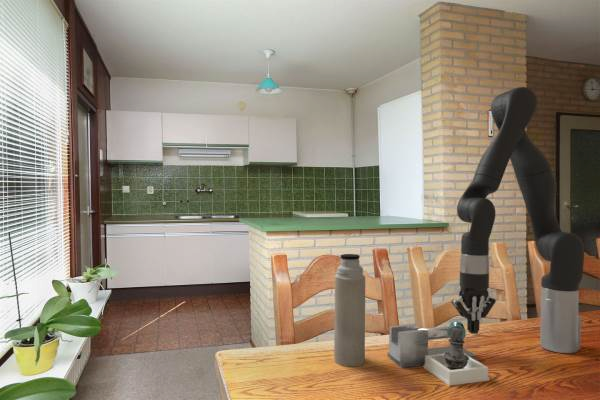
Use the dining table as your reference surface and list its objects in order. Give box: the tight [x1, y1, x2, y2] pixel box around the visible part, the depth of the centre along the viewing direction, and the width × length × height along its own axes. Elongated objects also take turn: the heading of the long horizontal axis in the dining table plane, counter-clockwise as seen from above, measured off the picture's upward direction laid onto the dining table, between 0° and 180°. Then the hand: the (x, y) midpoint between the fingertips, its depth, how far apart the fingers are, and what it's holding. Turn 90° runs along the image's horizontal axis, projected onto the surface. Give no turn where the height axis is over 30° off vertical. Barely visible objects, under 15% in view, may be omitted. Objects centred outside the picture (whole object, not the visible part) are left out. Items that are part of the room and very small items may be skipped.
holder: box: [423, 354, 491, 387], centre depth 110 cm, size 11×11×3 cm
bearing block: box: [387, 323, 478, 369], centre depth 120 cm, size 22×8×8 cm, turn 106°
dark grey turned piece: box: [444, 323, 469, 370], centre depth 110 cm, size 6×6×12 cm
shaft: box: [417, 321, 466, 341], centre depth 120 cm, size 13×5×5 cm, turn 106°
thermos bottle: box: [333, 253, 366, 367], centre depth 117 cm, size 8×8×28 cm
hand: (473, 332), depth 123 cm, fingers closed
